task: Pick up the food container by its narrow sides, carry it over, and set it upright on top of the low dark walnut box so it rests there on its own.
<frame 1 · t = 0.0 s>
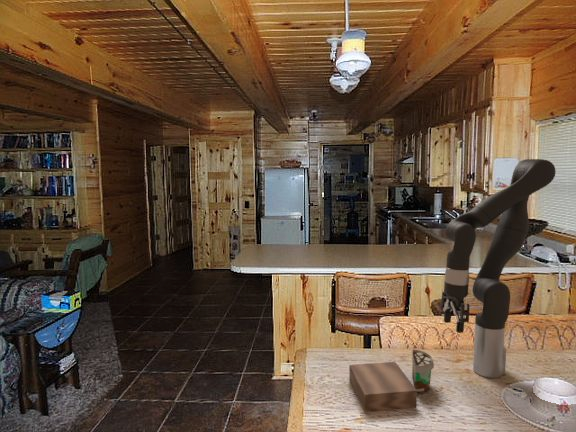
hand: (453, 327, 141), 17 cm above the table, tool pointing down, fingers open, 8 cm apart
walnut box: (380, 394, 133), on the table
food container: (423, 387, 137), on the table
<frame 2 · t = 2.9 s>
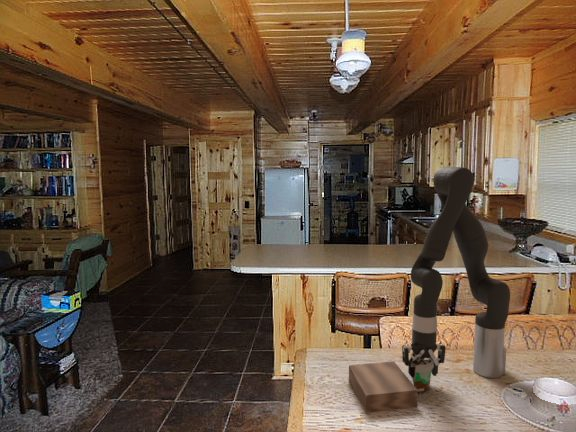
hand: (422, 375, 136), 4 cm above the table, tool pointing down, fingers closed on food container, 7 cm apart
food container: (423, 386, 137), on the table, touching gripper
everything else where it was.
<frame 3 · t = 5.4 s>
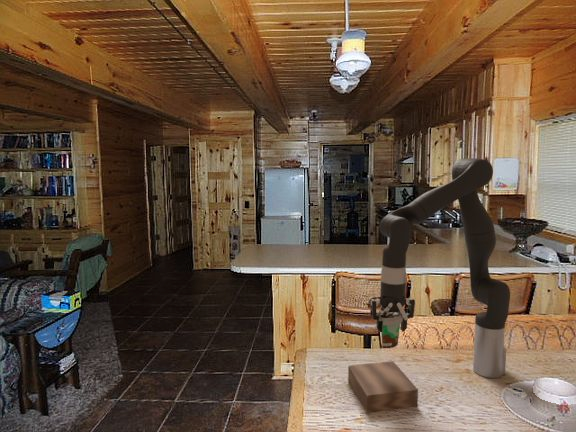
hand: (391, 330, 131), 21 cm above the table, tool pointing down, fingers closed on food container, 7 cm apart
food container: (391, 343, 132), point 17 cm above the table, touching gripper
everything else where it was.
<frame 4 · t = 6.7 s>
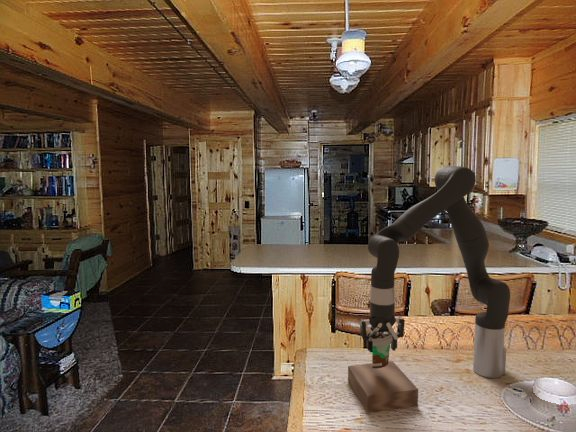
hand: (381, 350, 131), 15 cm above the table, tool pointing down, fingers closed on food container, 7 cm apart
food container: (382, 362, 132), point 11 cm above the table, touching gripper
everything else where it was.
when the fingers open (11 cm above the table, at t = 7.9 s): food container drops 2 cm, resting on walnut box.
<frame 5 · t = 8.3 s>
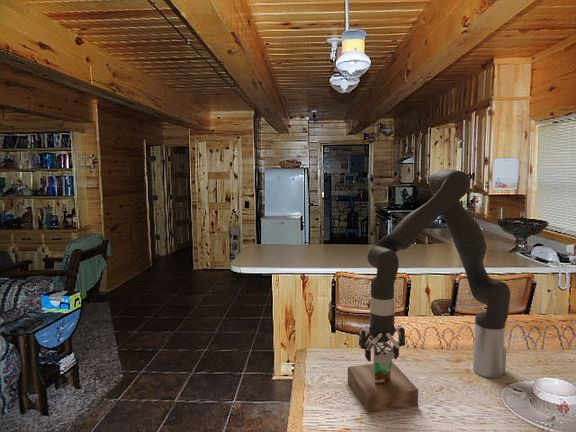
hand: (381, 359, 132), 12 cm above the table, tool pointing down, fingers open, 8 cm apart
walnut box: (380, 395, 133), on the table, touching food container
food container: (384, 377, 132), point 5 cm above the table, touching walnut box
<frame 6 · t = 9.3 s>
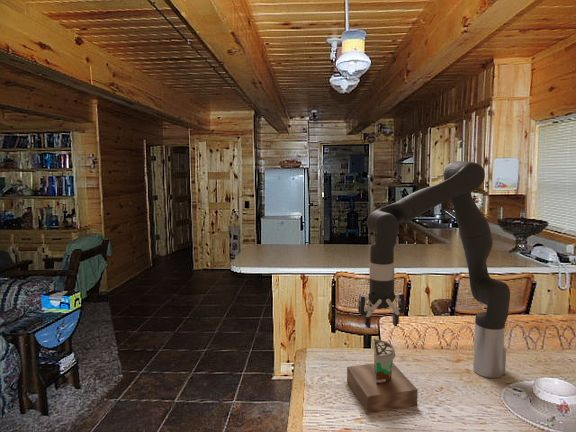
hand: (381, 326, 130), 23 cm above the table, tool pointing down, fingers open, 8 cm apart
nothing on the table moved.
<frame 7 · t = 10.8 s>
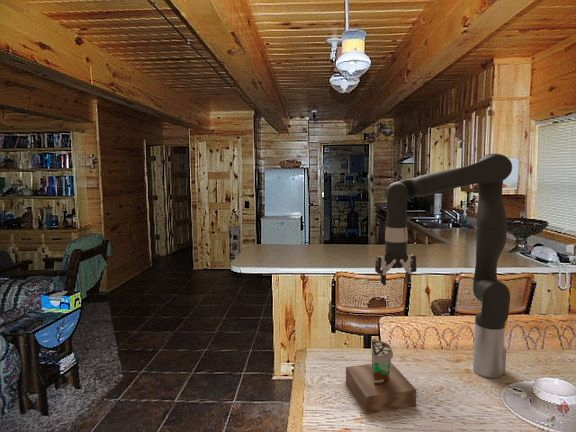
hand: (395, 284, 148), 30 cm above the table, tool pointing down, fingers open, 8 cm apart
nothing on the table moved.
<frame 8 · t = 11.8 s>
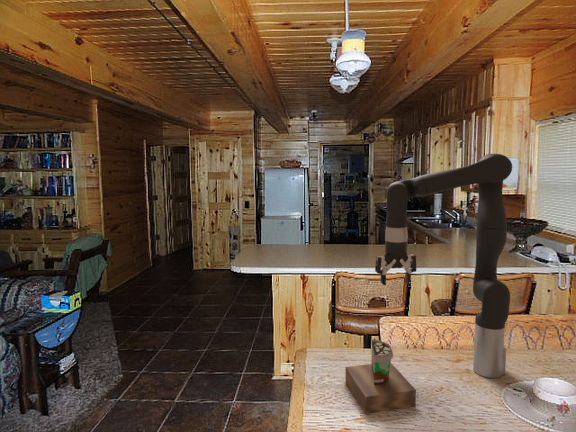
hand: (395, 284, 148), 30 cm above the table, tool pointing down, fingers open, 8 cm apart
nothing on the table moved.
at the end: food container inside the target area on the walnut box (1.2 cm from its centre), point 5.8 cm above the walnut box's base; food container touching walnut box; food container tilted 0° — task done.
